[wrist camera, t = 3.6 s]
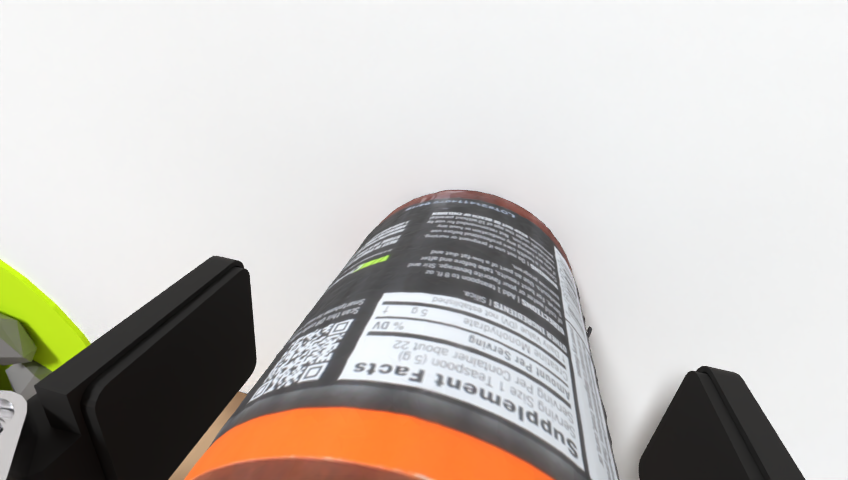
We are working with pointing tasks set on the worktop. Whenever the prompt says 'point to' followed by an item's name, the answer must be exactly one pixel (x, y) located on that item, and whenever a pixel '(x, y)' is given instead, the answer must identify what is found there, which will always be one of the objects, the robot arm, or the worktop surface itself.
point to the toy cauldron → (32, 334)
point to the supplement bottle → (431, 362)
